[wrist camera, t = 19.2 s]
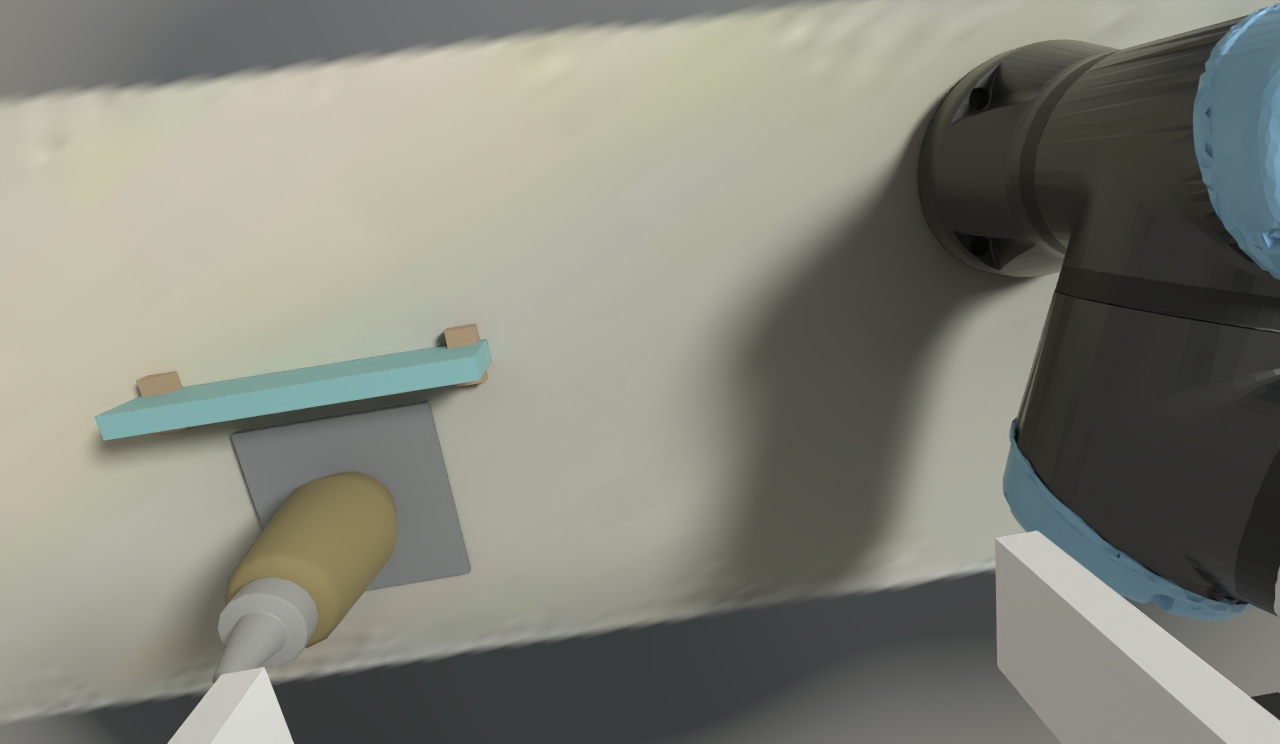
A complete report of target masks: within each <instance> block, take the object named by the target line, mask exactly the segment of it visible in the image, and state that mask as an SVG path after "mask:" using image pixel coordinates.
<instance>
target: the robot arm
mask: <svg viewBox="0 0 1280 744" xmlns="http://www.w3.org/2000/svg"><path fill="white" fill-rule="evenodd" d="M918 182H919V193H920V199H921V204H922V208H923V211H924V214H925V217H926V220H927V222H928V224H929V226H930V228H931V230H932V231H933V233H934V235H935V236H936V238H937V239H938V240H939V242H940V243H941V244H942V245H943V246H944V247H945V248H946V249H947V250H948V251H949V252H950V253H951V254H952V255H953V256H955V257H956V258H957V259H959V260H960V261H962V262H964V263H965V264H967V265H969V266H972V267H974V268H977V269H979V270H983V271H986V272H991V273H996V274H1001V275H1006V276H1013V277H1036V276H1044V275H1049V274H1053V273H1057V272H1060V271H1061V272H1060V275H1059V279H1058V282H1057V286H1056V289H1055V291H1054V294H1053V297H1052V301H1051V304H1050V308H1049V311H1048V314H1047V318H1046V321H1045V324H1044V328H1043V331H1042V335H1041V338H1040V341H1039V345H1038V348H1037V351H1036V355H1035V358H1034V362H1033V365H1032V368H1031V372H1030V375H1029V379H1028V382H1027V385H1026V389H1025V392H1024V395H1023V399H1022V402H1021V406H1020V409H1019V412H1018V416H1017V417H1016V418H1015V419H1014V420H1013V421H1012V425H1011V428H1010V442H1011V446H1010V450H1009V455H1008V459H1007V464H1006V468H1005V472H1004V476H1003V492H1004V496H1005V498H1006V500H1007V502H1008V504H1009V506H1010V509H1011V512H1012V514H1013V516H1014V517H1015V519H1016V520H1017V522H1018V523H1019V524H1020V525H1021V526H1022V528H1023V529H1024V530H1025V531H1026V533H1021V534H1015V535H1009V536H1004V537H998V538H995V551H996V606H997V607H996V609H997V662H998V663H997V665H998V667H999V669H1000V670H1001V671H1002V672H1003V673H1004V675H1005V676H1006V677H1007V678H1008V679H1009V680H1010V682H1011V683H1012V684H1013V686H1014V687H1015V688H1016V689H1017V690H1018V691H1019V693H1020V694H1021V695H1022V696H1023V697H1024V699H1025V700H1026V701H1027V702H1028V704H1029V705H1030V706H1031V707H1032V708H1033V709H1034V711H1035V712H1036V713H1037V714H1038V716H1039V717H1040V718H1041V719H1042V720H1043V722H1044V723H1045V724H1046V725H1047V727H1048V728H1049V729H1050V730H1051V731H1052V733H1053V734H1054V735H1055V736H1056V737H1057V739H1058V740H1059V741H1060V742H1061V743H1062V744H1280V693H1278V692H1276V693H1271V694H1265V695H1260V696H1254V697H1249V696H1248V695H1246V694H1245V693H1244V692H1242V691H1241V690H1240V689H1239V688H1237V687H1236V686H1235V685H1234V684H1232V683H1231V682H1230V681H1229V680H1227V679H1226V678H1225V677H1223V676H1222V675H1221V674H1220V673H1218V672H1217V671H1216V670H1214V669H1213V668H1212V667H1211V666H1209V665H1208V664H1207V663H1206V662H1204V661H1203V660H1202V659H1200V658H1199V657H1198V656H1197V655H1195V654H1194V653H1193V652H1192V651H1190V650H1189V649H1187V648H1186V647H1185V646H1184V645H1183V644H1181V643H1180V642H1179V641H1177V640H1176V639H1175V638H1174V637H1172V636H1171V635H1170V634H1169V633H1167V632H1166V631H1165V630H1163V629H1162V628H1161V627H1160V626H1158V625H1157V624H1156V623H1155V622H1153V621H1152V620H1151V619H1149V618H1148V617H1147V616H1146V615H1144V614H1143V613H1142V612H1141V611H1139V610H1138V609H1137V608H1135V607H1134V606H1133V605H1132V604H1130V603H1129V602H1128V601H1127V600H1125V599H1124V598H1123V597H1121V596H1120V595H1123V596H1125V597H1127V598H1130V599H1132V600H1135V601H1138V602H1140V603H1145V602H1148V601H1149V600H1150V601H1152V602H1153V603H1155V604H1157V605H1158V606H1160V607H1161V608H1162V609H1164V610H1165V611H1167V612H1168V613H1172V614H1175V615H1179V616H1183V617H1188V618H1192V619H1199V620H1227V619H1231V618H1234V617H1237V616H1239V615H1240V614H1242V613H1243V612H1244V611H1247V610H1250V609H1251V608H1253V607H1254V606H1256V607H1258V608H1260V609H1262V610H1265V611H1267V612H1269V613H1271V614H1273V615H1275V616H1278V617H1280V3H1277V4H1275V5H1273V6H1270V7H1266V8H1263V9H1259V10H1257V11H1255V12H1253V13H1251V14H1249V15H1247V16H1243V17H1239V18H1236V19H1232V20H1228V21H1225V22H1221V23H1218V24H1214V25H1210V26H1207V27H1203V28H1199V29H1196V30H1192V31H1188V32H1185V33H1181V34H1177V35H1174V36H1170V37H1166V38H1163V39H1159V40H1155V41H1152V42H1148V43H1145V44H1141V45H1137V46H1134V47H1130V48H1127V49H1123V50H1119V49H1115V48H1110V47H1105V46H1101V45H1096V44H1091V43H1087V42H1082V41H1075V40H1050V41H1042V42H1037V43H1033V44H1029V45H1026V46H1023V47H1020V48H1017V49H1014V50H1011V51H1008V52H1005V53H1002V54H1000V55H998V56H995V57H993V58H991V59H989V60H988V61H986V62H984V63H983V64H981V65H979V66H978V67H977V68H975V69H974V70H973V71H971V72H970V73H969V74H968V75H966V76H965V77H964V78H963V79H962V80H961V81H960V82H959V83H958V84H957V85H956V86H955V87H954V88H953V89H952V91H951V92H950V93H949V94H948V96H947V97H946V98H945V100H944V101H943V102H942V104H941V105H940V107H939V109H938V110H937V112H936V114H935V116H934V118H933V120H932V121H931V124H930V126H929V128H928V131H927V134H926V136H925V139H924V143H923V146H922V151H921V155H920V162H919V177H918ZM1119 594H1120V595H1119ZM168 744H294V743H293V741H292V738H291V735H290V733H289V730H288V727H287V725H286V722H285V719H284V717H283V714H282V711H281V709H280V706H279V704H278V701H277V698H276V696H275V693H274V691H273V688H272V685H271V683H270V680H269V677H268V675H267V672H266V670H265V667H262V668H256V669H251V670H245V671H239V672H234V673H228V674H222V675H221V676H220V677H219V678H218V680H217V681H216V682H215V683H214V685H213V686H212V687H211V689H210V690H209V691H208V692H207V694H206V695H205V696H204V697H203V699H202V700H201V701H200V703H199V704H198V705H197V707H196V708H195V709H194V710H193V712H192V713H191V714H190V715H189V717H188V718H187V719H186V720H185V722H184V723H183V724H182V726H181V727H180V728H179V729H178V731H177V732H176V733H175V735H174V736H173V737H172V738H171V740H170V741H169V742H168Z"/></svg>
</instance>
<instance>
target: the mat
mask: <svg viewBox="0 0 1280 744" xmlns="http://www.w3.org/2000/svg"><path fill="white" fill-rule="evenodd" d="M231 438H232V441H233V444H234V446H235V449H236V452H237V455H238V458H239V461H240V464H241V467H242V470H243V473H244V476H245V479H246V481H247V484H248V487H249V490H250V493H251V496H252V499H253V502H254V505H255V508H256V511H257V514H258V516H259V519H260V522H261V525H262V528H263V530H264V529H265V527H266V526H267V524H268V523H269V522H270V520H271V519H272V517H273V516H274V515H275V513H276V512H277V510H278V509H279V508H280V506H281V505H282V504H283V503H284V501H285V500H286V499H287V497H288V496H289V495H290V494H291V492H292V491H293V490H294V489H296V488H298V487H300V486H302V485H304V484H306V483H308V482H310V481H312V480H314V479H318V478H322V477H325V476H329V475H333V474H337V473H343V472H353V471H356V472H360V473H363V474H367V475H371V476H373V477H374V478H375V479H377V480H378V481H380V482H381V483H383V484H384V485H385V486H386V488H387V489H388V491H389V492H390V494H391V495H392V496H393V500H394V505H395V510H396V521H397V534H398V536H397V540H396V544H395V548H394V552H393V555H392V556H391V558H390V559H389V560H388V562H387V563H386V564H385V565H384V567H383V568H382V569H381V571H380V572H379V573H378V574H377V576H376V577H375V578H374V579H373V581H372V582H371V583H370V585H369V586H368V587H367V588H366V590H372V589H378V588H384V587H390V586H396V585H402V584H408V583H414V582H420V581H426V580H432V579H438V578H444V577H450V576H456V575H462V574H468V573H470V570H471V567H470V563H469V559H468V555H467V551H466V547H465V543H464V539H463V535H462V531H461V527H460V523H459V519H458V515H457V511H456V507H455V503H454V499H453V495H452V491H451V487H450V483H449V479H448V475H447V471H446V467H445V463H444V459H443V455H442V451H441V447H440V443H439V439H438V435H437V431H436V427H435V423H434V419H433V415H432V411H431V407H430V403H429V401H424V402H418V403H412V404H405V405H399V406H393V407H387V408H381V409H374V410H368V411H362V412H356V413H350V414H343V415H337V416H331V417H325V418H319V419H312V420H306V421H300V422H294V423H288V424H281V425H275V426H269V427H263V428H257V429H250V430H244V431H238V432H234V433H233V434H231ZM366 590H365V591H366Z"/></svg>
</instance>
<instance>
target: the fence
mask: <svg viewBox="0 0 1280 744" xmlns="http://www.w3.org/2000/svg"><path fill="white" fill-rule="evenodd" d="M444 334H445V339H446V343H447V345H446V346H440V347H434V348H428V349H421V350H415V351H409V352H403V353H396V354H390V355H384V356H377V357H371V358H365V359H359V360H352V361H346V362H340V363H333V364H327V365H321V366H315V367H308V368H302V369H296V370H290V371H283V372H277V373H271V374H264V375H258V376H252V377H246V378H239V379H233V380H227V381H220V382H214V383H208V384H202V385H195V386H189V387H183V388H182V386H181V383H180V380H179V377H178V374H177V372H176V371H175V372H169V373H163V374H156V375H150V376H146V377H144V378H141V379H139V380H137V381H136V382H137V385H138V387H139V390H140V393H141V395H142V396H139V397H137V398H135V399H133V400H131V401H128V402H126V403H124V404H122V405H120V406H118V407H115V408H113V409H111V410H109V411H107V412H104V413H102V414H100V415H98V416H96V417H95V420H96V422H97V425H98V427H99V430H100V432H101V435H102V437H103V440H111V439H117V438H123V437H129V436H136V435H142V434H148V433H154V432H155V433H156V435H161V434H167V433H174V432H180V431H186V430H187V429H189V428H191V427H192V426H198V425H204V424H210V423H216V422H223V421H229V420H235V419H241V418H248V417H254V416H260V415H266V414H272V413H279V412H285V411H291V410H297V409H304V408H310V407H316V406H322V405H328V404H335V403H341V402H347V401H353V400H360V399H366V398H372V397H378V396H384V395H391V394H397V393H403V392H409V391H416V390H422V389H428V388H434V387H440V386H447V385H453V384H456V385H457V387H460V386H466V385H472V384H478V383H485V382H486V380H487V378H488V376H487V372H486V369H487V367H488V365H489V364H490V362H491V357H490V353H489V348H488V344H487V339H484V340H479V336H478V331H477V327H476V324H472V325H465V326H459V327H453V328H447V329H446V330H445V331H444Z"/></svg>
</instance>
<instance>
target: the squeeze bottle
mask: <svg viewBox="0 0 1280 744" xmlns="http://www.w3.org/2000/svg"><path fill="white" fill-rule="evenodd" d="M397 536H398V534H397V521H396V510H395V505H394V500H393V496H392V495H391V494H390V492H389V491H388V489H387V488H386V486H385V485H384V484H383V483H381V482H380V481H378V480H377V479H375V478H374V477H373V476H371V475H367V474H363V473H360V472H356V471H353V472H343V473H337V474H333V475H329V476H325V477H322V478H318V479H314V480H312V481H310V482H308V483H306V484H304V485H302V486H300V487H298V488H296V489H294V490H293V491H292V492H291V494H290V495H289V496H288V497H287V499H286V500H285V501H284V503H283V504H282V505H281V506H280V508H279V509H278V510H277V512H276V513H275V515H274V516H273V517H272V519H271V520H270V522H269V523H268V524H267V526H266V527H265V529H264V530H263V531H262V533H261V534H260V536H259V537H258V538H257V540H256V541H255V543H254V544H253V545H252V547H251V548H250V550H249V551H248V552H247V554H246V555H245V557H244V558H243V559H242V561H241V562H240V564H239V565H238V566H237V568H236V569H235V571H234V572H233V574H232V575H231V576H230V578H229V579H228V584H227V590H226V595H225V600H226V604H227V605H226V607H225V608H224V609H223V610H222V612H221V613H220V616H219V621H218V626H217V629H218V632H219V636H220V639H221V643H222V644H223V645H224V646H225V647H226V648H225V651H224V653H223V655H222V657H221V660H220V662H219V664H218V667H217V669H216V671H215V674H214V676H213V684H214V683H215V682H216V681H217V680H218V678H219V677H220V676H221V675H222V674H228V673H234V672H239V671H245V670H251V669H256V668H259V667H272V666H281V665H283V664H285V663H287V662H289V661H291V660H293V659H295V658H296V657H297V656H298V655H299V654H300V653H301V651H302V650H303V649H304V648H308V647H310V646H312V645H314V644H316V643H318V642H320V641H322V640H324V639H326V638H327V637H328V636H329V635H330V634H331V632H332V631H333V630H334V629H335V628H336V626H337V625H338V624H339V623H340V622H341V620H342V619H343V618H344V617H345V615H346V614H347V613H348V611H349V610H350V609H351V608H352V606H353V605H354V604H355V602H356V601H357V600H358V599H359V597H360V596H361V595H362V594H363V592H364V591H365V590H366V588H367V587H368V586H369V585H370V583H371V582H372V581H373V579H374V578H375V577H376V576H377V574H378V573H379V572H380V571H381V569H382V568H383V567H384V565H385V564H386V563H387V562H388V560H389V559H390V558H391V556H392V555H393V552H394V548H395V544H396V540H397Z"/></svg>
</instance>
